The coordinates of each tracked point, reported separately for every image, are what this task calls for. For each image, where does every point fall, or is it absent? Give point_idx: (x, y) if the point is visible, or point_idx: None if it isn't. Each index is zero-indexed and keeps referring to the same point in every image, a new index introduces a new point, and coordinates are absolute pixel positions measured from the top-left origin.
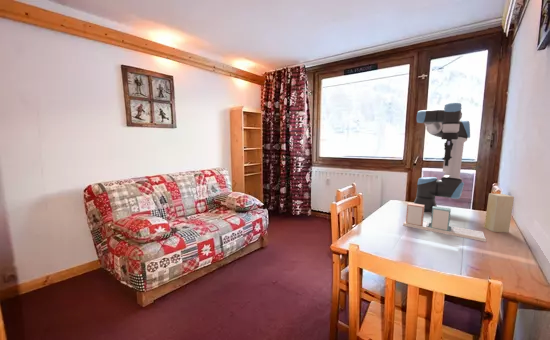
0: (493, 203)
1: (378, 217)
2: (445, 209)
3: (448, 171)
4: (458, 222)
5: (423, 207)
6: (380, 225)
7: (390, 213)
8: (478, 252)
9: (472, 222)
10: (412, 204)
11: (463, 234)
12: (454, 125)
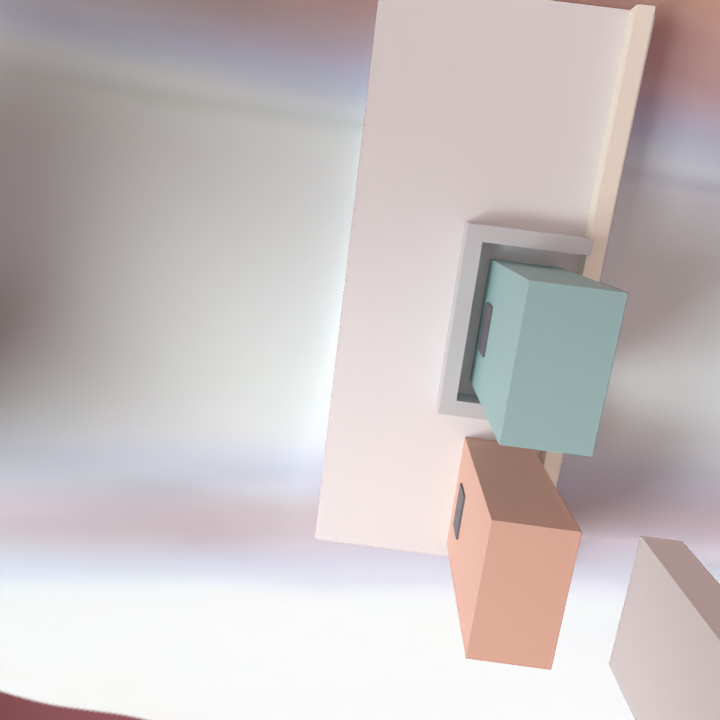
0: None
1: (354, 717)
2: (600, 338)
3: (693, 559)
4: (110, 133)
5: (578, 529)
6: (553, 693)
7: (178, 645)
8: None
9: (26, 5)
10: (536, 627)
11: (617, 167)
12: None
